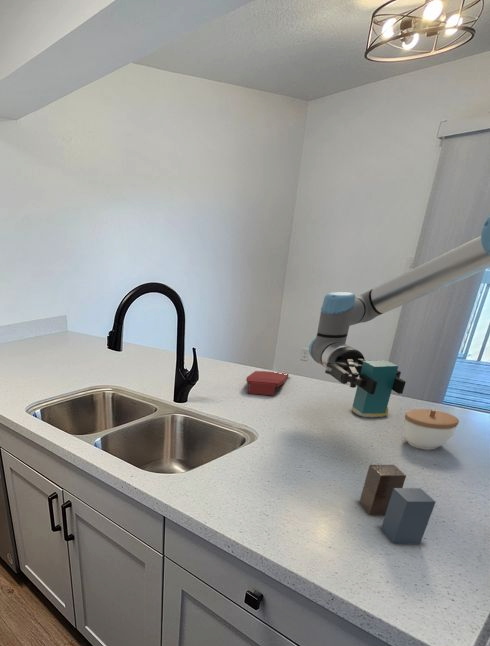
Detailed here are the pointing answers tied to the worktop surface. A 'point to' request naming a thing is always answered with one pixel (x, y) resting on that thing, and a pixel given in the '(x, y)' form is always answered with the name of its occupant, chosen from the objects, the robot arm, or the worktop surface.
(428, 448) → the trinket box
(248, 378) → the carton
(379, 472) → the walnut block
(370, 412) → the teal block
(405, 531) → the slate block
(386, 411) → the bread roll
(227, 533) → the worktop surface
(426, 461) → the worktop surface
